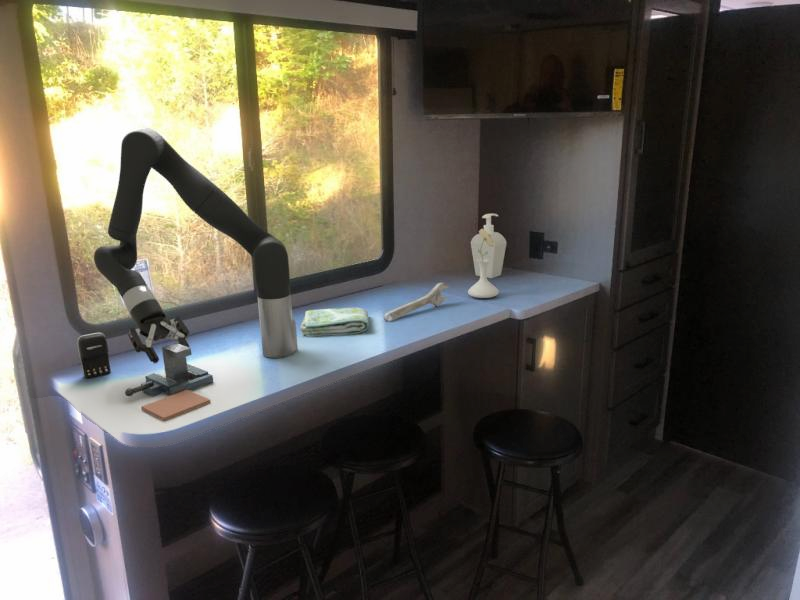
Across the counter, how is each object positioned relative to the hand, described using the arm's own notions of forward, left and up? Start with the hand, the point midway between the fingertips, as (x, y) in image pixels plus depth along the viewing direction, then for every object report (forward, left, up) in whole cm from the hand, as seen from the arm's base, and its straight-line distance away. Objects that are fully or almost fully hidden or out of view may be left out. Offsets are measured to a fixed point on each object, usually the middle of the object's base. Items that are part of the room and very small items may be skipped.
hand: (172, 356), depth 161 cm
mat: (+8, +14, -7) cm, 17 cm away
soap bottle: (-145, +4, -7) cm, 145 cm away
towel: (-57, +1, -8) cm, 58 cm away
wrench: (-85, +13, -7) cm, 86 cm away
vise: (+4, +2, -7) cm, 8 cm away
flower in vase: (-115, +20, -7) cm, 117 cm away
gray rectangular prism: (0, +2, -7) cm, 7 cm away
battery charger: (+10, -22, -7) cm, 25 cm away
